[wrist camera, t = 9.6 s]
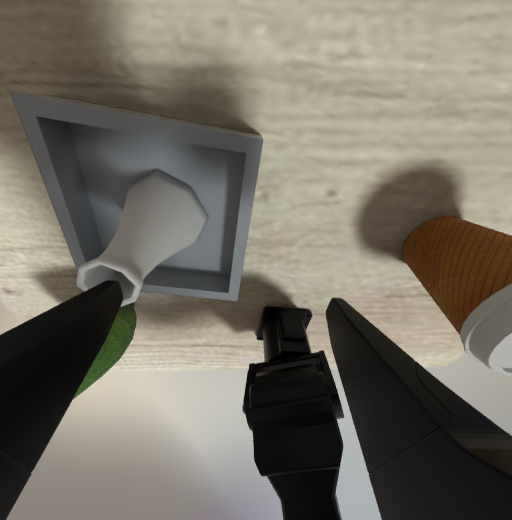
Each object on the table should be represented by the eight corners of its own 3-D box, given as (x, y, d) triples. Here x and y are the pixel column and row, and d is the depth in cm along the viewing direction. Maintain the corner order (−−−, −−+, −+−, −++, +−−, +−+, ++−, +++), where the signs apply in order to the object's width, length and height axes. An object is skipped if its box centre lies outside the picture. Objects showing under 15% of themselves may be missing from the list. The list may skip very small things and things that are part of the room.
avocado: (79, 269, 24) (-40, 379, 14) (152, 290, 26) (92, 399, 16) (79, 314, 28) (-14, 424, 18) (142, 329, 30) (89, 436, 20)
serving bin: (238, 279, 25) (237, 301, 22) (103, 264, 24) (82, 285, 21) (261, 134, 17) (263, 139, 14) (54, 96, 15) (9, 92, 13)
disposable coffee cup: (385, 219, 21) (501, 310, 12) (493, 185, 20) (737, 257, 10) (386, 286, 27) (468, 389, 17) (473, 263, 25) (620, 363, 15)
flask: (109, 210, 19) (6, 283, 11) (156, 152, 17) (67, 189, 9) (175, 259, 23) (132, 344, 14) (223, 216, 20) (204, 289, 12)
